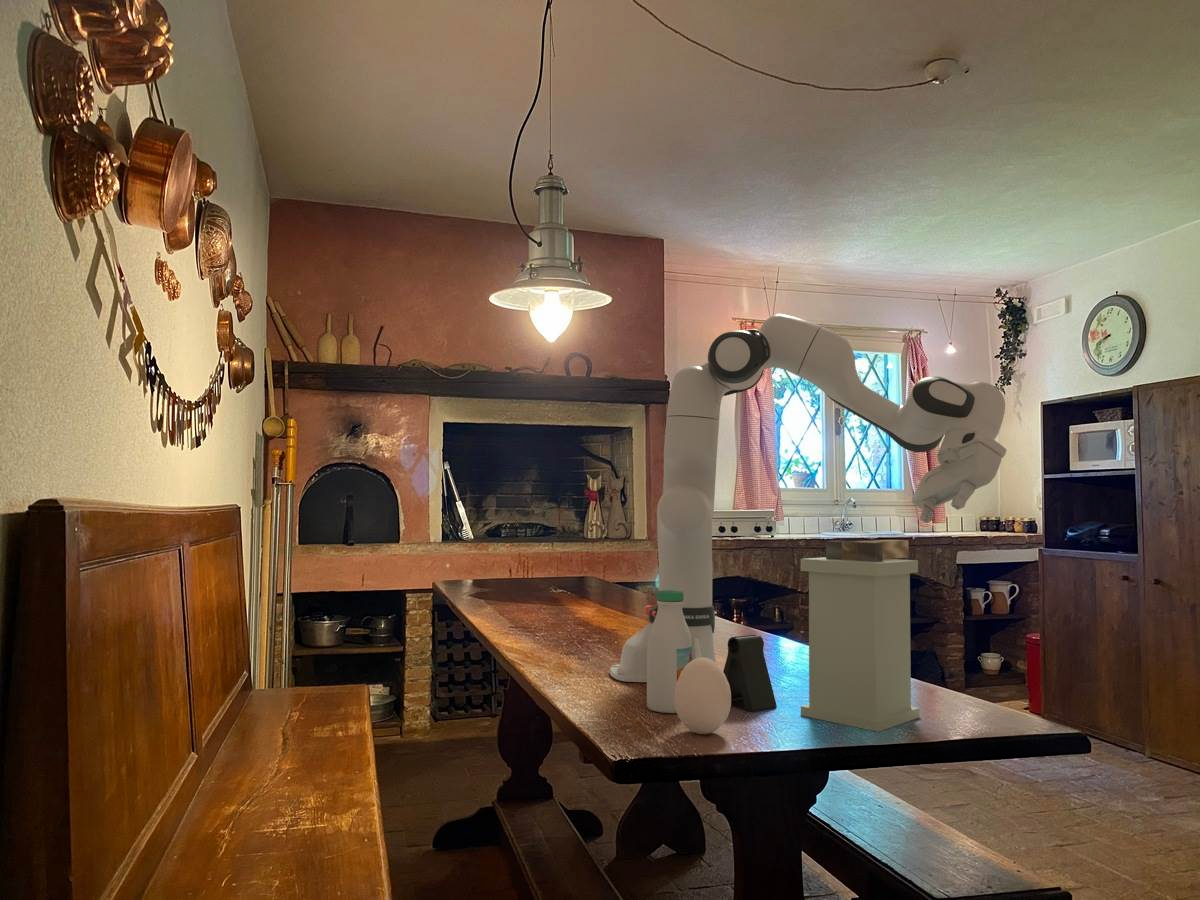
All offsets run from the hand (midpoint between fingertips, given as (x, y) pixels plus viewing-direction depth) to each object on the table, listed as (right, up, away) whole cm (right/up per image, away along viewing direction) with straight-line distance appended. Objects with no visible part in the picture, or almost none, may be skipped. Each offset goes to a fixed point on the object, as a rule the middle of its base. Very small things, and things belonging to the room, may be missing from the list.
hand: (940, 514), depth 159 cm
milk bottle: (-51, -33, -11) cm, 61 cm away
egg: (-47, -32, -27) cm, 63 cm away
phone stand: (-37, -33, -8) cm, 50 cm away
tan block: (-15, -7, -9) cm, 18 cm away
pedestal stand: (-19, -33, -15) cm, 41 cm away
